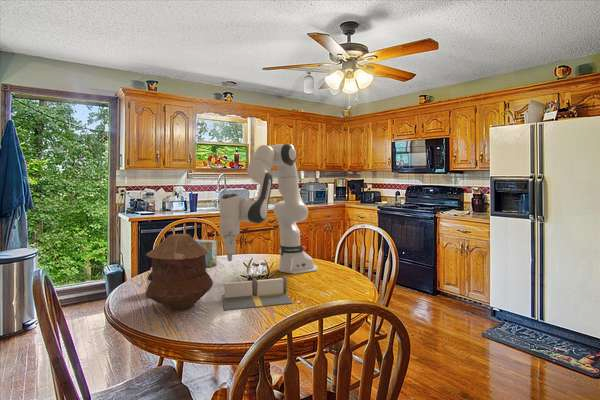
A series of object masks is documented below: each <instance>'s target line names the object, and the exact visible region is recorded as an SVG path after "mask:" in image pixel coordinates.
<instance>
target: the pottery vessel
mask: <svg viewBox="0 0 600 400" xmlns="http://www.w3.org/2000/svg"><path fill="white" fill-rule="evenodd" d="M194 239H195V238H193V237H192V235H190V234H188V233H176V234H175V233H173V234H169V235H167V236H166V237H165V238H164V239H163V240H162V241H160V242H159V244H158V245H157V246H156V247H154V248H153V249H152V250H150V251H149V252H147V253H146V254H145V256H146V257H149V258H151V268H152V281H151V282H150V284H149V285H148V288H147V287H146V296H147V298H148V299H150V300H151V301H154V302H155V303H157V304H160V305H162V306H165V307H168V308H170V310H171V311H174V312H185V311H188V310H190V309H192V308H194V307H195V305H196V304H197V303H198V302H199V301H200V300H201V299H202V298H203V297H204V296H205V295H206V294H207V293H208V292H210V290H211V289H212V287H213V284H214V281H213V279H212V277H211V276H210V275H209V273H208V272H207V269H206V268H207V267H206V262H205V254H207V253H208V251H207V250H206V249H205V248H203V247H202V246H201V245H199V244H198V243H197V242H196V241H195V240H194Z"/></svg>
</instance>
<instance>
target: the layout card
mask: <svg viewBox="0 0 600 400" xmlns="http://www.w3.org/2000/svg"><path fill="white" fill-rule="evenodd" d="M221 297H222V305H223V309H224V311H233V310H243V309H253V308H254V307H255V308H262V307H263V308H264V307H274V306H281V305H291V304H293V301H292V299H290V297H289V296H288V295H287V292H286V293H283V292H282V293H271V294H261V295H258V294H257V296H253V291H252V295H250V296H239V297H229V298H225V297H224V294H221Z"/></svg>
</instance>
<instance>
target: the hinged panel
mask: <svg viewBox="0 0 600 400" xmlns="http://www.w3.org/2000/svg"><path fill="white" fill-rule="evenodd" d="M223 288H224V290H223V291H224V292H223V293H224V294H223V295H224V297H225V298H229V297H239V296H250V295H252V292H253V280H244V281H243V280H242V281H233V282H232V281H231V282H224V283H223Z"/></svg>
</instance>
